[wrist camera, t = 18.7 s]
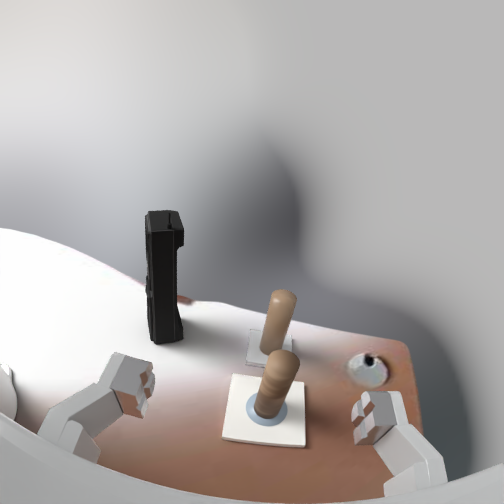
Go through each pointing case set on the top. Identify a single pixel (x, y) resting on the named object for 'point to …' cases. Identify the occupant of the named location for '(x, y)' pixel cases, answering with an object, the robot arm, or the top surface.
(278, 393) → the walnut pin
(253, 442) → the plate
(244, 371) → the top surface
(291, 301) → the tan wooden dowel
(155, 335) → the portable radio
